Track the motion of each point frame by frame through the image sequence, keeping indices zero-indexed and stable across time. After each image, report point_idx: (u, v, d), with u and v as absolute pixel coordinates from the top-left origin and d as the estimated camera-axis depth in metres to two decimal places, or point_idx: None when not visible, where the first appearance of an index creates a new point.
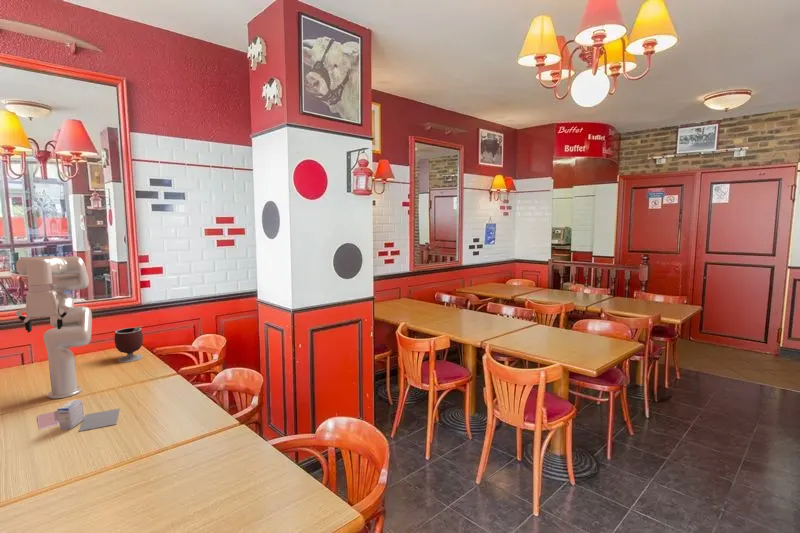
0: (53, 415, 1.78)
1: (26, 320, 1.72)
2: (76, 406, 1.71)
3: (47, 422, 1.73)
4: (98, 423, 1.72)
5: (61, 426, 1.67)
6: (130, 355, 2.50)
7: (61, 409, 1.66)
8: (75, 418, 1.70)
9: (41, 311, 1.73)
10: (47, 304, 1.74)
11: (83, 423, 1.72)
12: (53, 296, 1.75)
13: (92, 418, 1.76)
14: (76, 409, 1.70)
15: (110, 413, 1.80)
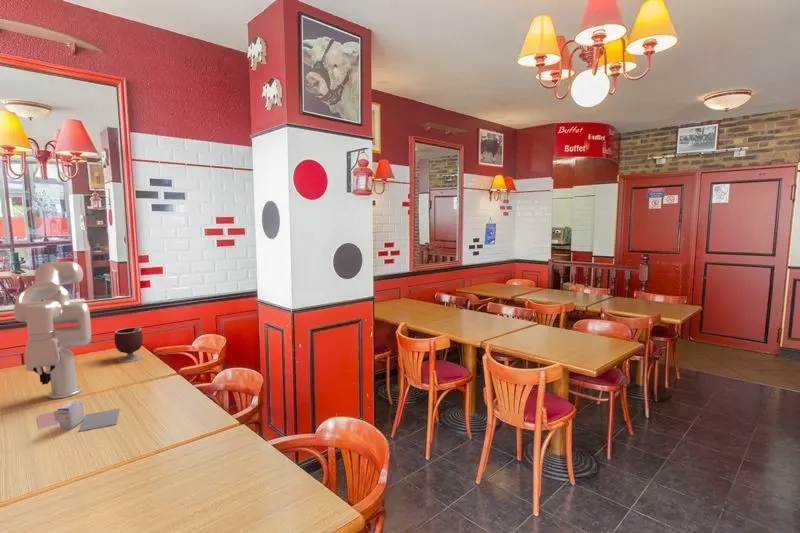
0: (53, 415, 1.78)
1: (41, 372, 1.63)
2: (77, 406, 1.71)
3: (47, 422, 1.73)
4: (98, 423, 1.72)
5: (61, 426, 1.67)
6: (130, 355, 2.50)
7: (61, 409, 1.66)
8: (75, 418, 1.70)
9: (42, 360, 1.62)
10: (48, 354, 1.63)
11: (83, 423, 1.72)
12: (54, 344, 1.64)
13: (92, 418, 1.76)
14: (76, 409, 1.70)
15: (110, 413, 1.80)
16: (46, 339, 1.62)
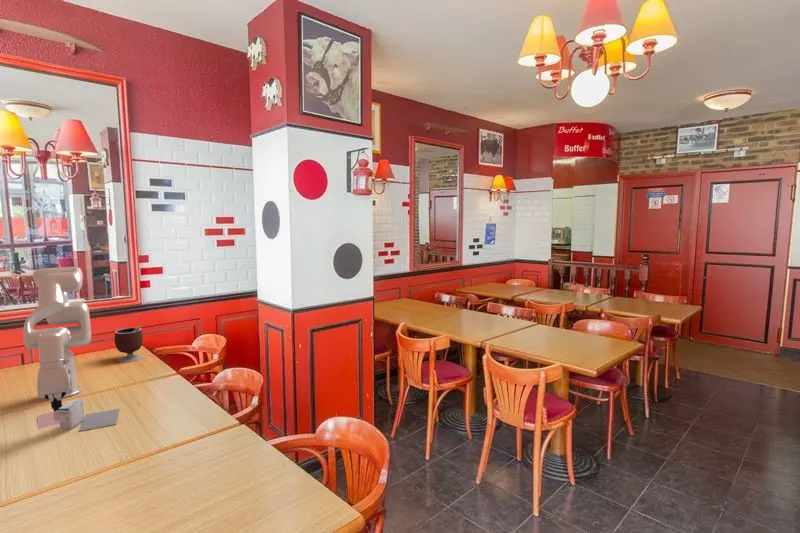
0: (53, 415, 1.78)
1: (52, 399, 1.66)
2: (77, 406, 1.71)
3: (47, 422, 1.73)
4: (98, 423, 1.72)
5: (61, 426, 1.67)
6: (130, 355, 2.50)
7: (61, 409, 1.66)
8: (75, 418, 1.70)
9: (53, 388, 1.65)
10: (59, 381, 1.66)
11: (83, 423, 1.72)
12: (65, 372, 1.67)
13: (92, 418, 1.76)
14: (77, 409, 1.70)
15: (110, 413, 1.80)
16: (57, 367, 1.64)
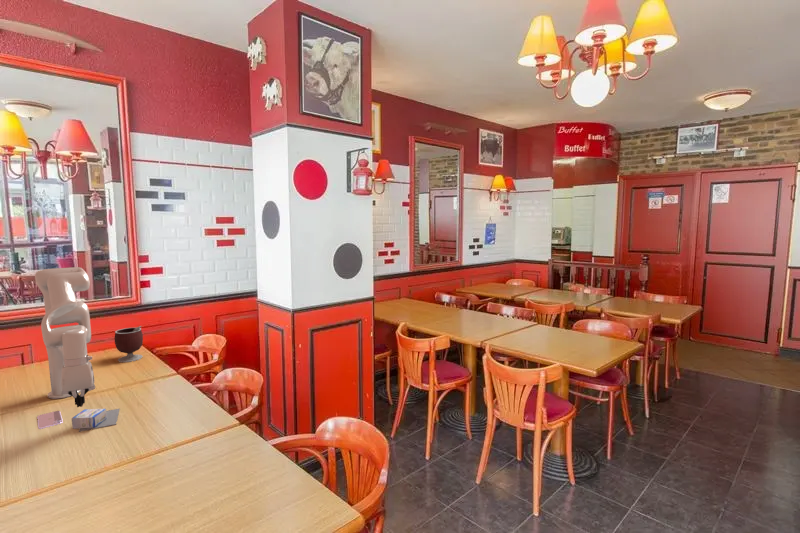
0: (53, 415, 1.78)
1: (76, 395, 1.69)
2: None
3: (47, 422, 1.73)
4: None
5: (75, 419, 1.67)
6: (130, 355, 2.50)
7: (93, 420, 1.68)
8: None
9: (77, 384, 1.68)
10: (82, 378, 1.69)
11: None
12: (88, 368, 1.70)
13: None
14: None
15: (110, 413, 1.80)
16: (81, 364, 1.68)
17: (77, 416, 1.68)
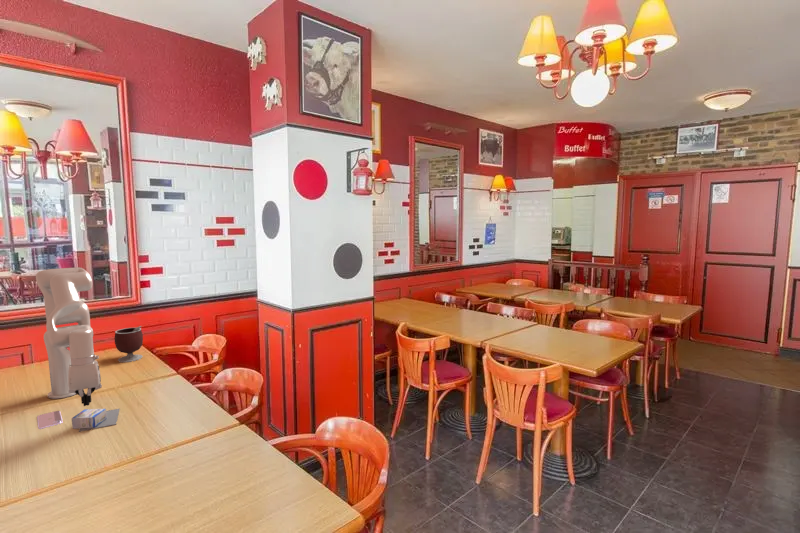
0: (53, 415, 1.78)
1: (82, 394, 1.71)
2: None
3: (47, 422, 1.73)
4: None
5: (75, 419, 1.67)
6: (130, 355, 2.50)
7: (93, 420, 1.68)
8: None
9: (84, 383, 1.70)
10: (89, 377, 1.70)
11: None
12: (95, 368, 1.71)
13: None
14: None
15: (110, 413, 1.80)
16: (88, 363, 1.69)
17: (77, 416, 1.68)
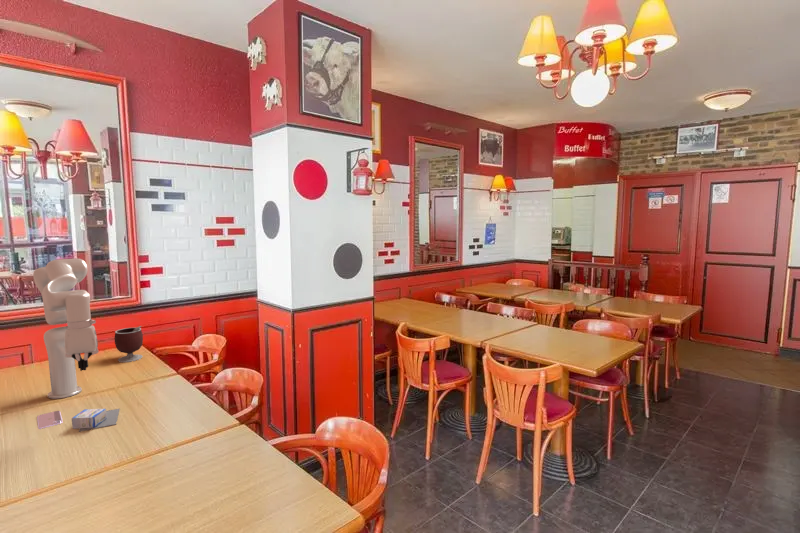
0: (53, 415, 1.78)
1: (79, 358, 1.69)
2: None
3: (47, 422, 1.73)
4: None
5: (75, 419, 1.67)
6: (130, 355, 2.50)
7: (93, 420, 1.68)
8: None
9: (80, 347, 1.68)
10: (86, 341, 1.69)
11: None
12: (92, 332, 1.70)
13: None
14: None
15: (110, 413, 1.80)
16: (84, 327, 1.67)
17: (77, 416, 1.68)
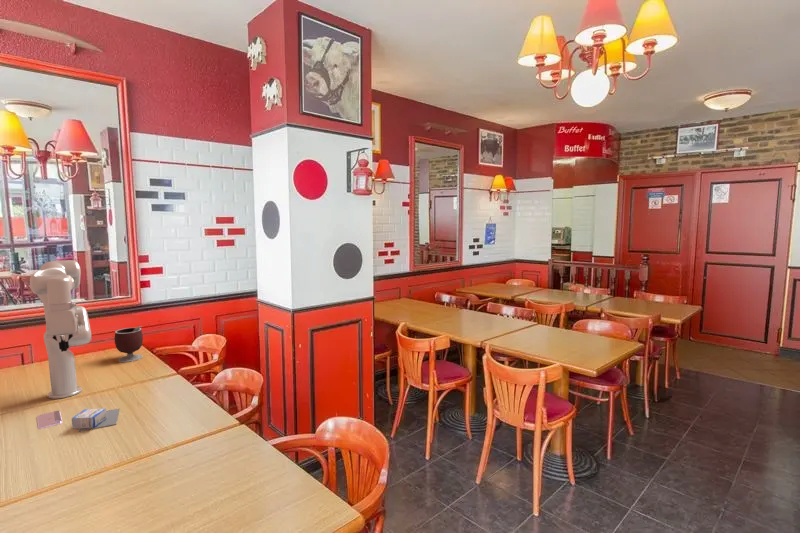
0: (53, 415, 1.78)
1: (60, 340, 1.77)
2: None
3: (47, 422, 1.73)
4: None
5: (75, 419, 1.67)
6: (130, 355, 2.50)
7: (93, 420, 1.68)
8: None
9: (61, 329, 1.76)
10: (66, 323, 1.76)
11: None
12: (72, 314, 1.77)
13: None
14: None
15: (110, 413, 1.80)
16: (65, 309, 1.75)
17: (77, 416, 1.68)
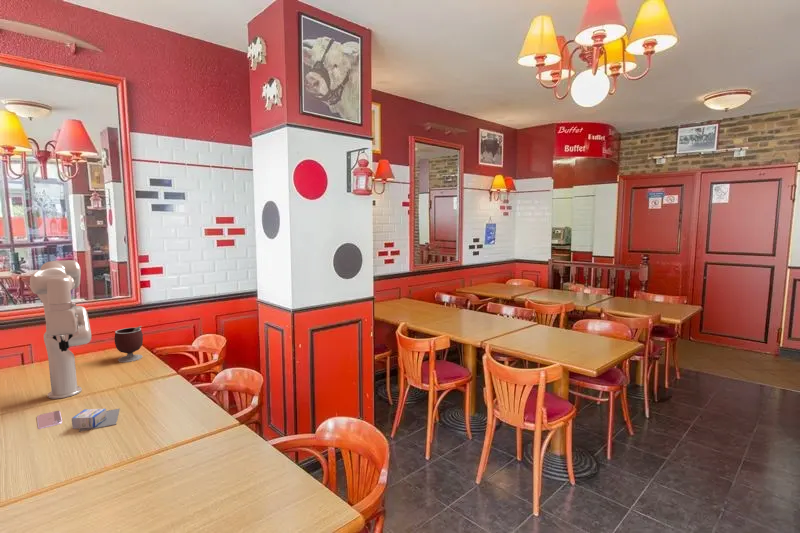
0: (53, 415, 1.78)
1: (60, 340, 1.77)
2: None
3: (47, 422, 1.73)
4: None
5: (75, 419, 1.67)
6: (130, 355, 2.50)
7: (93, 420, 1.68)
8: None
9: (61, 329, 1.76)
10: (66, 323, 1.76)
11: None
12: (72, 314, 1.77)
13: None
14: None
15: (110, 413, 1.80)
16: (65, 309, 1.75)
17: (77, 416, 1.68)
